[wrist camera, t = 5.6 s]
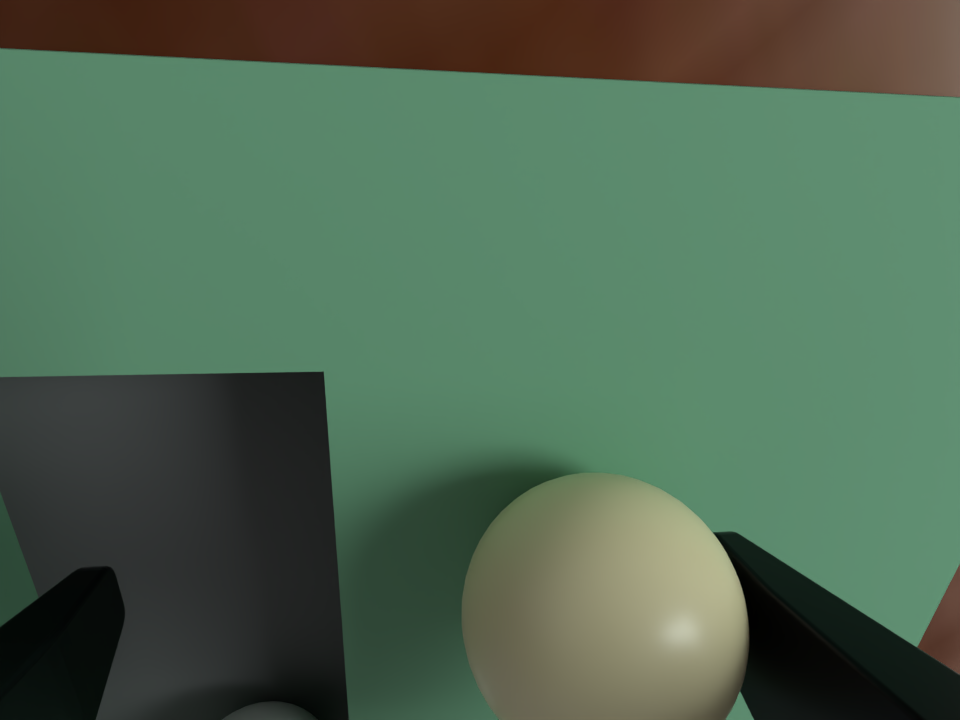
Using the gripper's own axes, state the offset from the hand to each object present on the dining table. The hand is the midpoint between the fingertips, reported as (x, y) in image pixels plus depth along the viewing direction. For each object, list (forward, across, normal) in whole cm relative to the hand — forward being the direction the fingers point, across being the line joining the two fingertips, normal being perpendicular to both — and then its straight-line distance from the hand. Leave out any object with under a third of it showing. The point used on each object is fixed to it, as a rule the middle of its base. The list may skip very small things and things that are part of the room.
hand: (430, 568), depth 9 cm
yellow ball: (-1, -2, 0) cm, 3 cm away
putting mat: (+5, 0, +4) cm, 7 cm away
